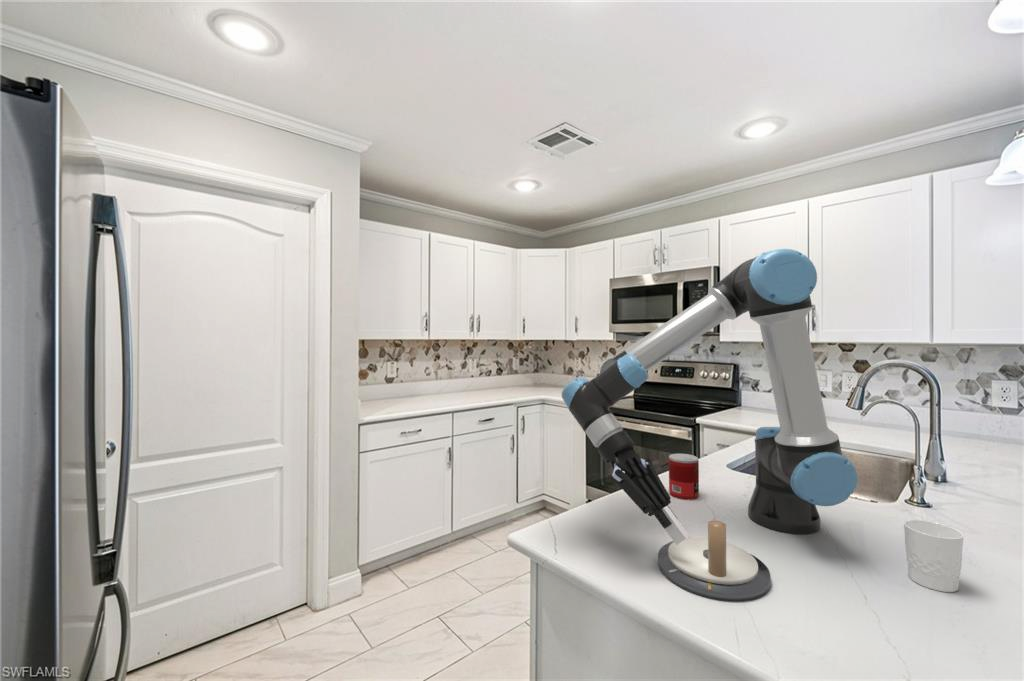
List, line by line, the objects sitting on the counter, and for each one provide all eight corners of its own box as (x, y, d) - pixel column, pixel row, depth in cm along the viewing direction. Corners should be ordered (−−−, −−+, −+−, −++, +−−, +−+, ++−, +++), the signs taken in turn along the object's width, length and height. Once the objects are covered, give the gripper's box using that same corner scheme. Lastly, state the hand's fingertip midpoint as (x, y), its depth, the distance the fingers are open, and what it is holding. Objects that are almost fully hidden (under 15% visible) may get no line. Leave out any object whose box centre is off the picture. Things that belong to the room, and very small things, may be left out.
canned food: (701, 500, 121) (701, 461, 121) (671, 499, 123) (670, 460, 123) (695, 491, 129) (695, 453, 128) (667, 489, 130) (666, 452, 130)
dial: (686, 534, 97) (685, 490, 97) (767, 559, 86) (767, 509, 86) (654, 563, 85) (654, 512, 85) (744, 595, 74) (744, 537, 74)
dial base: (746, 548, 94) (746, 540, 94) (791, 605, 74) (790, 596, 74) (650, 543, 97) (650, 535, 97) (668, 596, 77) (668, 587, 77)
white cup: (892, 571, 84) (892, 520, 84) (930, 569, 85) (930, 518, 85) (935, 596, 76) (935, 539, 76) (976, 593, 77) (976, 537, 77)
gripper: (617, 444, 103) (686, 538, 90) (582, 454, 94) (652, 561, 82) (637, 424, 99) (711, 521, 86) (602, 434, 90) (679, 542, 78)
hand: (682, 540), depth 84 cm, fingers closed
